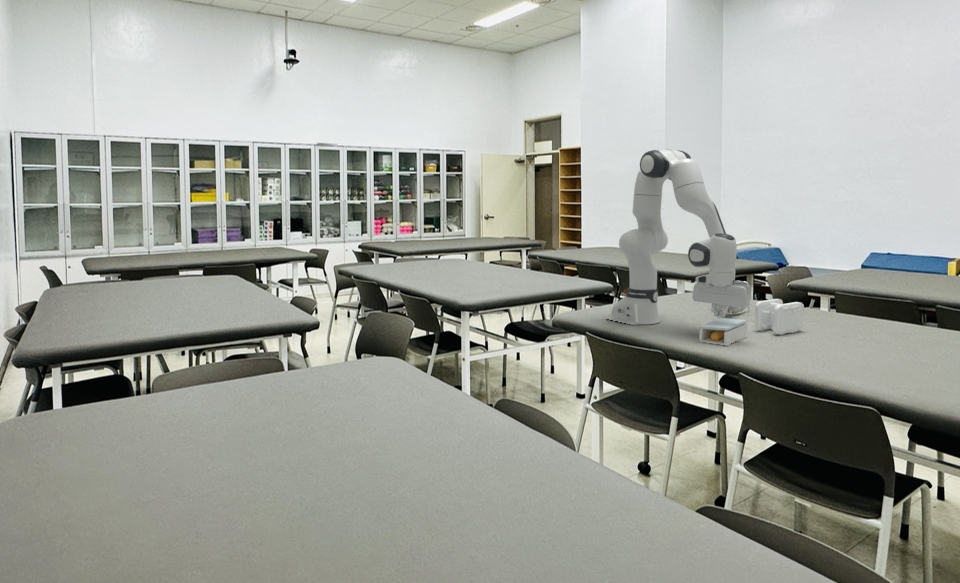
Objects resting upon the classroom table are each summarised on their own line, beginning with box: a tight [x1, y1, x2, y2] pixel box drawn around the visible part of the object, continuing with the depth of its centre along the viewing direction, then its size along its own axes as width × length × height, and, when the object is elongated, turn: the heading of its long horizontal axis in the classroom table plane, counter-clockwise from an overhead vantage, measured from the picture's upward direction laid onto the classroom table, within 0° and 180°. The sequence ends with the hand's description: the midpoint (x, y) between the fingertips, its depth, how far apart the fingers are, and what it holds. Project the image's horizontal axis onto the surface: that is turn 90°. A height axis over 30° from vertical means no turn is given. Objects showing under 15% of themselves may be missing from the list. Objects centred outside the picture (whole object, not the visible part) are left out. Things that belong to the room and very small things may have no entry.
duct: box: [698, 323, 748, 347], centre depth 232 cm, size 10×18×5 cm, turn 137°
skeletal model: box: [716, 304, 751, 315], centre depth 277 cm, size 16×9×25 cm
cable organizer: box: [753, 298, 805, 336], centre depth 242 cm, size 15×11×12 cm
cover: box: [699, 317, 748, 331], centre depth 232 cm, size 10×18×1 cm, turn 136°
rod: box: [711, 330, 725, 341], centre depth 232 cm, size 3×16×3 cm
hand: (719, 316), depth 232 cm, fingers closed
